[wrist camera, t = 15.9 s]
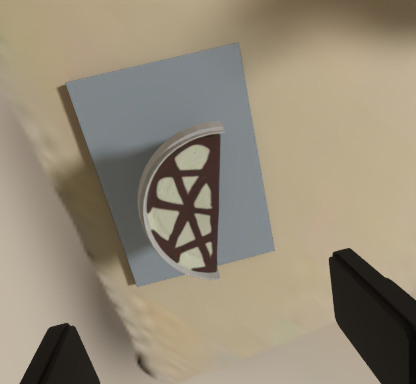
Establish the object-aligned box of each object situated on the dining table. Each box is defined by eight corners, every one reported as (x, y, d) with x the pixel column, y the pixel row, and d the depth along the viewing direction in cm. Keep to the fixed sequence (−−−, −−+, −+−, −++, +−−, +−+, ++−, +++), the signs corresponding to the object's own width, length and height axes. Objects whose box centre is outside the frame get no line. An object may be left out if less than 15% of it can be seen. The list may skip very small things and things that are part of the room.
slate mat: (68, 83, 28) (65, 82, 27) (236, 44, 29) (238, 42, 28) (138, 281, 35) (137, 287, 34) (272, 246, 36) (274, 250, 35)
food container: (142, 114, 29) (129, 122, 19) (207, 114, 30) (225, 123, 20) (147, 234, 32) (139, 290, 23) (205, 232, 33) (220, 286, 24)
